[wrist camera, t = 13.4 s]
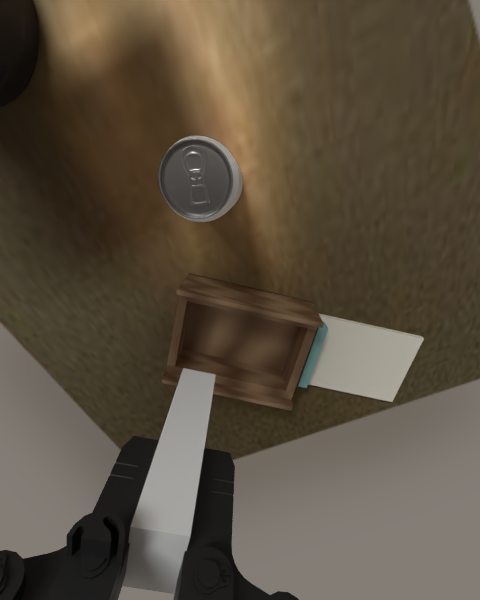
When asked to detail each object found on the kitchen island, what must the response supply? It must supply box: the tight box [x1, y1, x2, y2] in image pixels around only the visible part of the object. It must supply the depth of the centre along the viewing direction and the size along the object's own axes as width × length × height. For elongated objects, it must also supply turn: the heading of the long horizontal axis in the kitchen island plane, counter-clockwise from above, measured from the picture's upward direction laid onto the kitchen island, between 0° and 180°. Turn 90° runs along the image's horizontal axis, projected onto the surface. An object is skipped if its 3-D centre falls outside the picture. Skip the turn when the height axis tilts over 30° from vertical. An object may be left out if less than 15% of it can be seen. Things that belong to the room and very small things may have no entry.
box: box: [162, 273, 324, 411], centre depth 36 cm, size 16×12×6 cm
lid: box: [297, 313, 424, 402], centre depth 39 cm, size 15×10×3 cm
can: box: [158, 136, 243, 222], centre depth 28 cm, size 6×6×12 cm
